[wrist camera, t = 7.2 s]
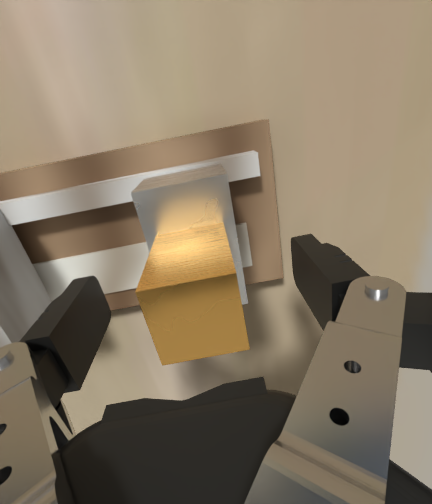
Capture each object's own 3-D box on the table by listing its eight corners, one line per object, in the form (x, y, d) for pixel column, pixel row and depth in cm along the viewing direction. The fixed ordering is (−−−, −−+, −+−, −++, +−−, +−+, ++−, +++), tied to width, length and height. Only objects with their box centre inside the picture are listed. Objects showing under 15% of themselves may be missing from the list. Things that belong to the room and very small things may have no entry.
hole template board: (-10, 322, 21) (-91, 399, 15) (-98, 193, 17) (-257, 231, 11) (277, 267, 20) (309, 325, 15) (262, 119, 16) (299, 118, 10)
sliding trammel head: (176, 276, 18) (159, 397, 10) (147, 175, 15) (93, 232, 7) (237, 264, 18) (268, 377, 10) (219, 160, 15) (243, 203, 7)
